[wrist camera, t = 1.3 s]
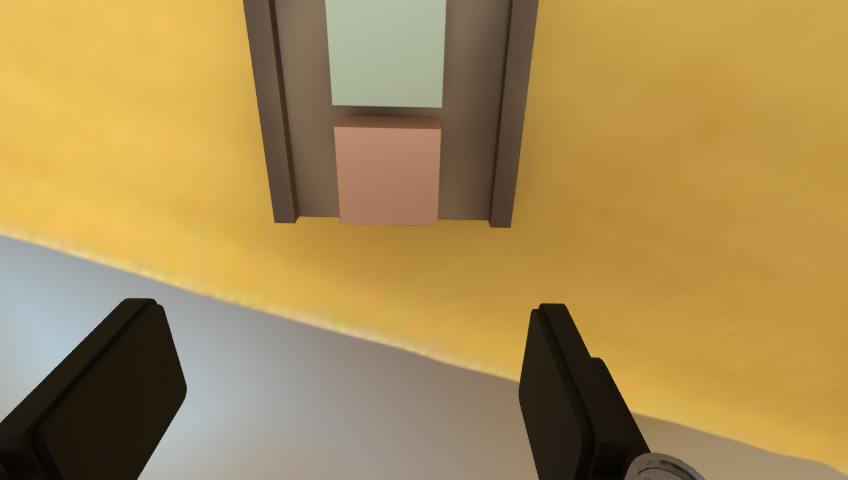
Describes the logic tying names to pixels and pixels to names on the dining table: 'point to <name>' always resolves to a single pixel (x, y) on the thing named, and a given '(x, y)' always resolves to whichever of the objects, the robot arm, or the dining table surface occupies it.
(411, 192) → the key terracotta
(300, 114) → the key board
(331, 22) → the key sage
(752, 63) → the dining table surface
